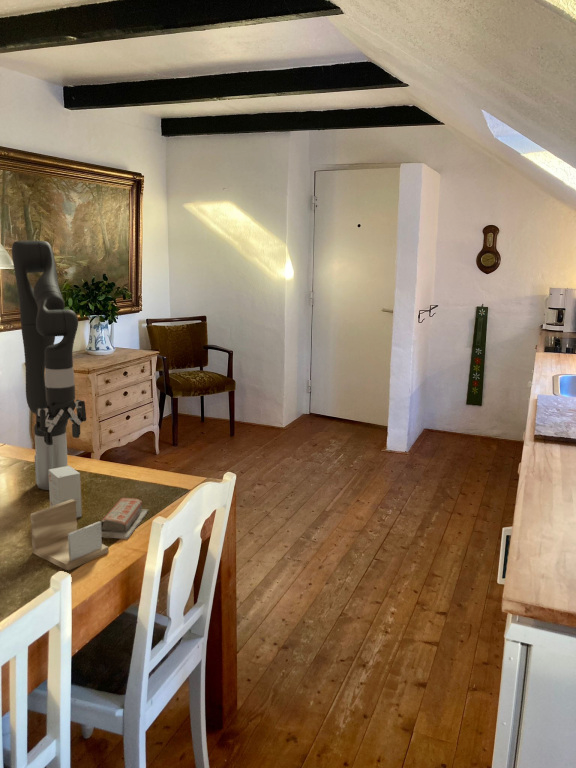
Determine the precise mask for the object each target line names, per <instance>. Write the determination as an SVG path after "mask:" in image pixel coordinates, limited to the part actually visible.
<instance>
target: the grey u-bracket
mask: <svg viewBox="0 0 576 768" xmlns="http://www.w3.org/2000/svg"><path fill="white" fill-rule="evenodd" d="M77 519H78V518H77V517H76V500H73V499H71V500H68V501H65V502H62V503H59V504H57V505H54V506H51V507H50V506H48V507H47V508H46V507H45V508H43V509H40V510H37V511H35V512H32V513H30V528H31V544H32V545H31V546H32V554H34V555H36V556H37V557H39V558H41V559H44V560H45V561H48V562H50V563H52V564H53V565H55V566H57V567H60V568H61V569H63V570H65V571H67V570H68V571H70V570H73V569H75V568H77V567H79V566H81V565H84V564H86V563H89V562H91V561H93V560H95V559H96V558H99V557H101V556H104V555H106V554H108V553H109V552H110V551H109V546H108V545H105V544H104V543H102V548H101V549H99V550H97V551H95V552H92V553H90V554H88V555H86V556H83V557H81V558H79V559H77V560H74V561H72V562H70V561H69V547H68V534H69V533H71V532H74V531H76V530H78V524H77V523H78V521H77ZM68 571H67V572H68Z"/></svg>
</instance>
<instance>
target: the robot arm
mask: <svg viewBox="0 0 576 768" xmlns="http://www.w3.org/2000/svg"><path fill="white" fill-rule="evenodd" d="M11 255H12V262H13V270H14V275H15V281H16V287H17V295H18V303H19V305H18V306H19V312H20V313H19V314H20V316H19V317H20V328H21V335H22V337H21V338H22V343H23V351H24V362H25V363H24V364H25V399H26V403H27V406H28V408H29V411H30V412H31V413H33V414H35V424H34V430H33V433H34V443H35V444H34V445H35V446H34V448H35V450H34V451H35V455H34V468H35V469H34V470H35V484H36V485H37V487H38V489H40V490H45V491H49V473H48V470H49V469H54V468H60V467H65V466H69V465H68V448H67V447H68V444H67V426H68V421H70V422H71V423H72V424H71V434H72V437H73V438H74V439H78V438H80V436H81V424H82V423H83V422H86V421H87V412H86V402H85V401H84V400H80V399H76V387H75V386H76V385H75V372H74V361H73V360H74V359H73V351H74V350H73V349H74V343H75V339H76V334H77V331H78V326H79V319H78V315H77V314H76V312H75V311H74V310H72V309H69V308H68V309H65V300H64V297H63V295H62V291H61V289H60V286H59V281H58V271H57V266H56V261H55V255H54V251H53V248H52V246H51V244H50V243H49V242H48V241H46V240H15V241H14V242H13V243H12V247H11ZM30 273H31V274H35V273H36V274H37V273H42V274H41V275H40V276H39V278H38V279H37V281H36V282H35V284H34V287H33V286H32V285H31V282H30V280H29V277H28V274H30ZM56 337H62V339H61V340H60V341H59V342H57V343H55V341H56ZM75 409H76V413H75V412H74V411H75Z"/></svg>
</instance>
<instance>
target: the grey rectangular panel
mask: <svg viewBox="0 0 576 768" xmlns="http://www.w3.org/2000/svg"><path fill="white" fill-rule="evenodd" d="M102 538H103V537H102V533H101V521H96V522H94V523H91V524H89V525H86V526H84V527H82V528H79V529H77V530H76V531H74V532H71V533H69V534H68V547H69V561H70V562H72V561H74V560H77V559H79V558H81V557H83V556H86V555H88V554H90V553H92V552H95V551H97V550H99V549H101V548H102V544H103V541H102Z"/></svg>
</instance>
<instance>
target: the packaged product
mask: <svg viewBox="0 0 576 768" xmlns="http://www.w3.org/2000/svg"><path fill="white" fill-rule="evenodd" d="M142 504H143V501H142V500H141V499H139V498H130V497H122V498H120V499H119V500H118V501H117V502H116V504H115V505H114V506H113V507H112V508H111V509H110V511H109V512H107V514H106V515H105V516H104V517H103V518H102V519H101V521H100V522H101V533H102V538H105V539H106V538H107V539H122V540H128V539H129V538H130V537H131V536H132V534H133V532H134V531H135V530H136V529H137V527H138V526H140V524H141V523H142V521H143V519H144V518H145V516H146V515H147V513H148V512H149V509H146V508H145V509H144V508H142ZM140 522H141V523H140Z"/></svg>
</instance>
